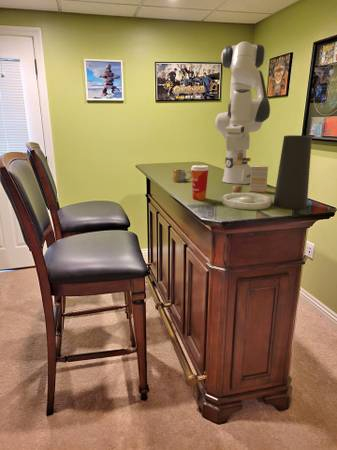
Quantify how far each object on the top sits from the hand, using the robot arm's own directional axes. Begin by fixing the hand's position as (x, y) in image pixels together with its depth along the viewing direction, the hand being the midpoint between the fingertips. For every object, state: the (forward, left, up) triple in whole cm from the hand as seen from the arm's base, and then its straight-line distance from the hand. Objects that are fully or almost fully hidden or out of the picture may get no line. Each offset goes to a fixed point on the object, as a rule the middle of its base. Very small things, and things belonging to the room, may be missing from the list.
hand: (237, 160), depth 150 cm
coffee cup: (+13, -10, -18) cm, 24 cm away
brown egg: (-5, -4, -18) cm, 19 cm away
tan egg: (0, 0, -2) cm, 2 cm away
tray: (+2, +9, -18) cm, 20 cm away
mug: (-8, -51, -18) cm, 54 cm away
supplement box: (-22, -5, -18) cm, 29 cm away
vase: (-11, +22, -18) cm, 30 cm away
